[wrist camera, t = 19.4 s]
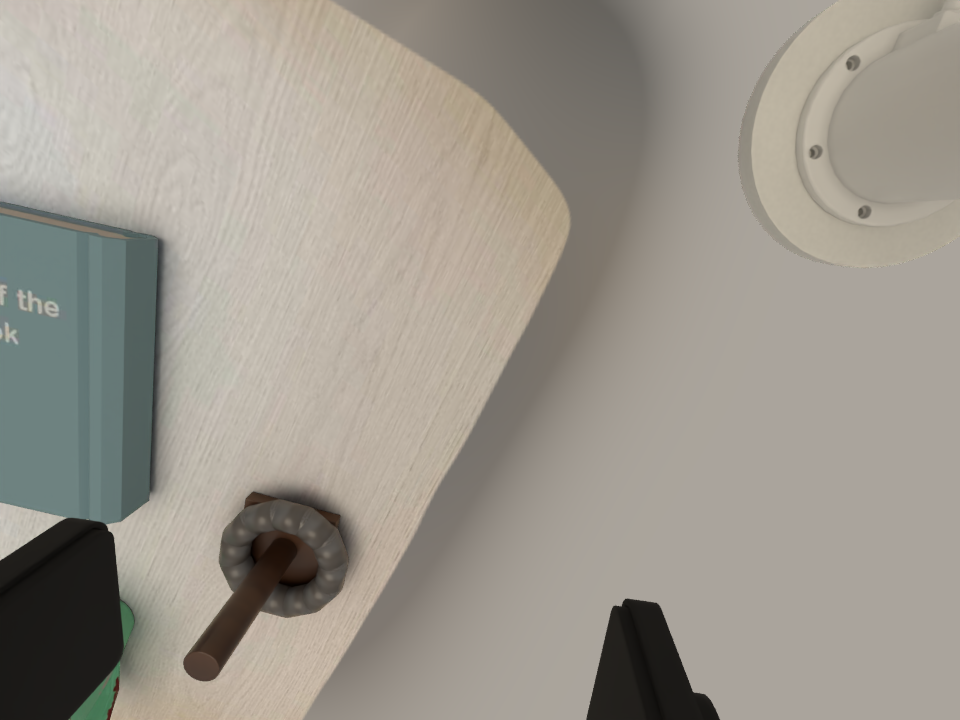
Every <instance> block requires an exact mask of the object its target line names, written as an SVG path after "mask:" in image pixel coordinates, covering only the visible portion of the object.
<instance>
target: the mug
mask: <svg viewBox="0 0 960 720" xmlns="http://www.w3.org/2000/svg"><path fill="white" fill-rule="evenodd" d="M120 607H121V618H122V628H123V639H124V649H125V646H126V644H127V641H128V639H129V636H130V634H131V631H132V629H133V625H134V616H133V614H132V612H131V610H130V608H129V607H128V606H127V605H126V604H125V603H124V602H122V601H121V600H120ZM123 651H124V650H123ZM119 677H120V661H119V662H118V664H117V666H116V667H115V668H114V669H113V671H112V672H111V673H110V674H109V675H108V676H107V677H106V678H105V680H104V681H103V682H102V683H101V684H100V685H99V686H98V687H97V688H96V690H95V691H94V692H93V693H92V694H91V695H90V696H89V697H88V699H87V700H86V701H85V702H84V703H83V704H82V705H81V706H80V707H79V709H78V710H77V711H76V712H75V713H74V714H73V715H72V716H71V717H70V719H69V720H110V717H111V714H112V711H113V707H114V704H115V701H116V698H117V694H118V691H119Z"/></svg>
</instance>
